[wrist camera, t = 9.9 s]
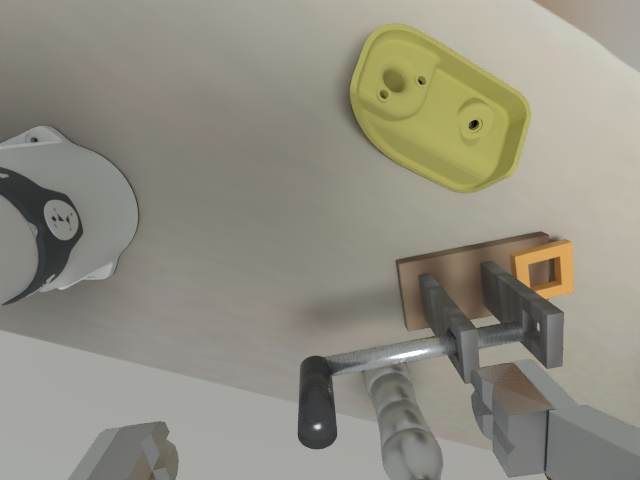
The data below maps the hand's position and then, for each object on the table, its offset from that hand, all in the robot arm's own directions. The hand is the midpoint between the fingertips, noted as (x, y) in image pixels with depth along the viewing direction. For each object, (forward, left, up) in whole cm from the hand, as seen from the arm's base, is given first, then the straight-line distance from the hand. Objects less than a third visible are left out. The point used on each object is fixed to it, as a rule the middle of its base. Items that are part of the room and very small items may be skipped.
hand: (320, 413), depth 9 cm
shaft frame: (+19, -16, -35) cm, 43 cm away
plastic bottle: (+5, -27, -35) cm, 45 cm away
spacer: (+27, -16, -32) cm, 45 cm away
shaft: (+7, -16, -24) cm, 29 cm away
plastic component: (+15, +6, -35) cm, 39 cm away
